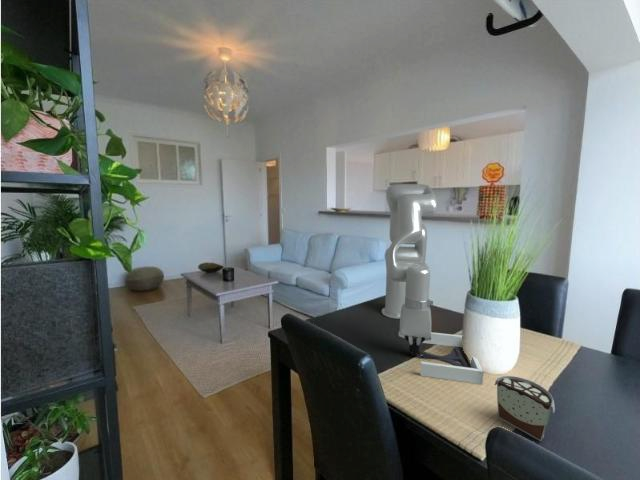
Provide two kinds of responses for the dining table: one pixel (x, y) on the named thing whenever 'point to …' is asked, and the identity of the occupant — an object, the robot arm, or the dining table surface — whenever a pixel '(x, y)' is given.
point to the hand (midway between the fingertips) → (413, 354)
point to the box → (451, 371)
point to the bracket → (446, 357)
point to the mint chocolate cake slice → (524, 405)
